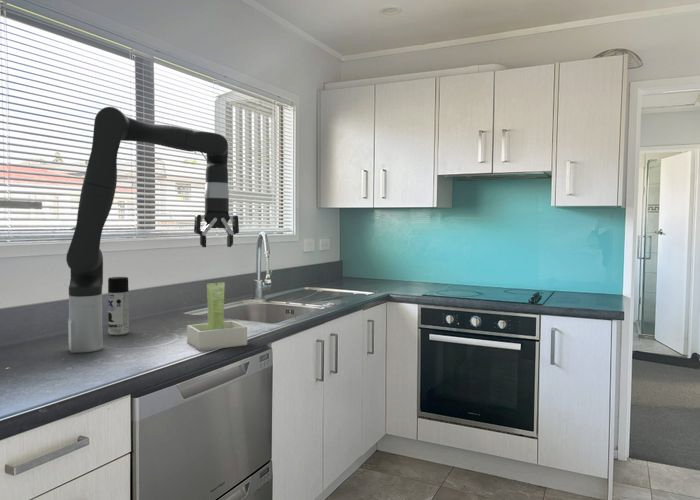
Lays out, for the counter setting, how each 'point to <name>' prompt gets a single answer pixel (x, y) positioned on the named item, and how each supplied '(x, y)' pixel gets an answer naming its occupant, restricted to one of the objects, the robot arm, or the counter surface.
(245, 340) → the box
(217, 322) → the tube
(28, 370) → the counter surface
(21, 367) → the counter surface
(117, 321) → the spray can
